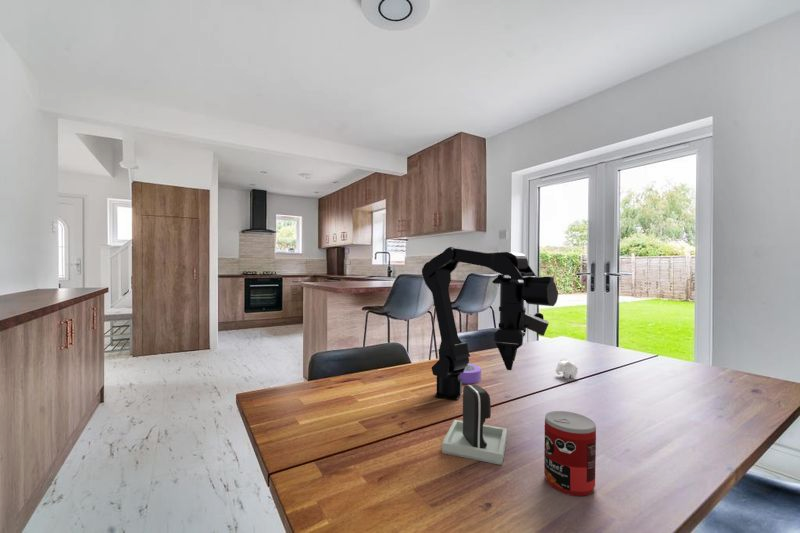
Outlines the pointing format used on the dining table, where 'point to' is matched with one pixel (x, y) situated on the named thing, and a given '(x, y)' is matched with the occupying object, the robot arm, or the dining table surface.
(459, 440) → the shallow rectangular tray
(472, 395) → the battery charger
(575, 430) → the canned food
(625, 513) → the dining table surface
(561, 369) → the elephant figurine
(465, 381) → the masking tape
